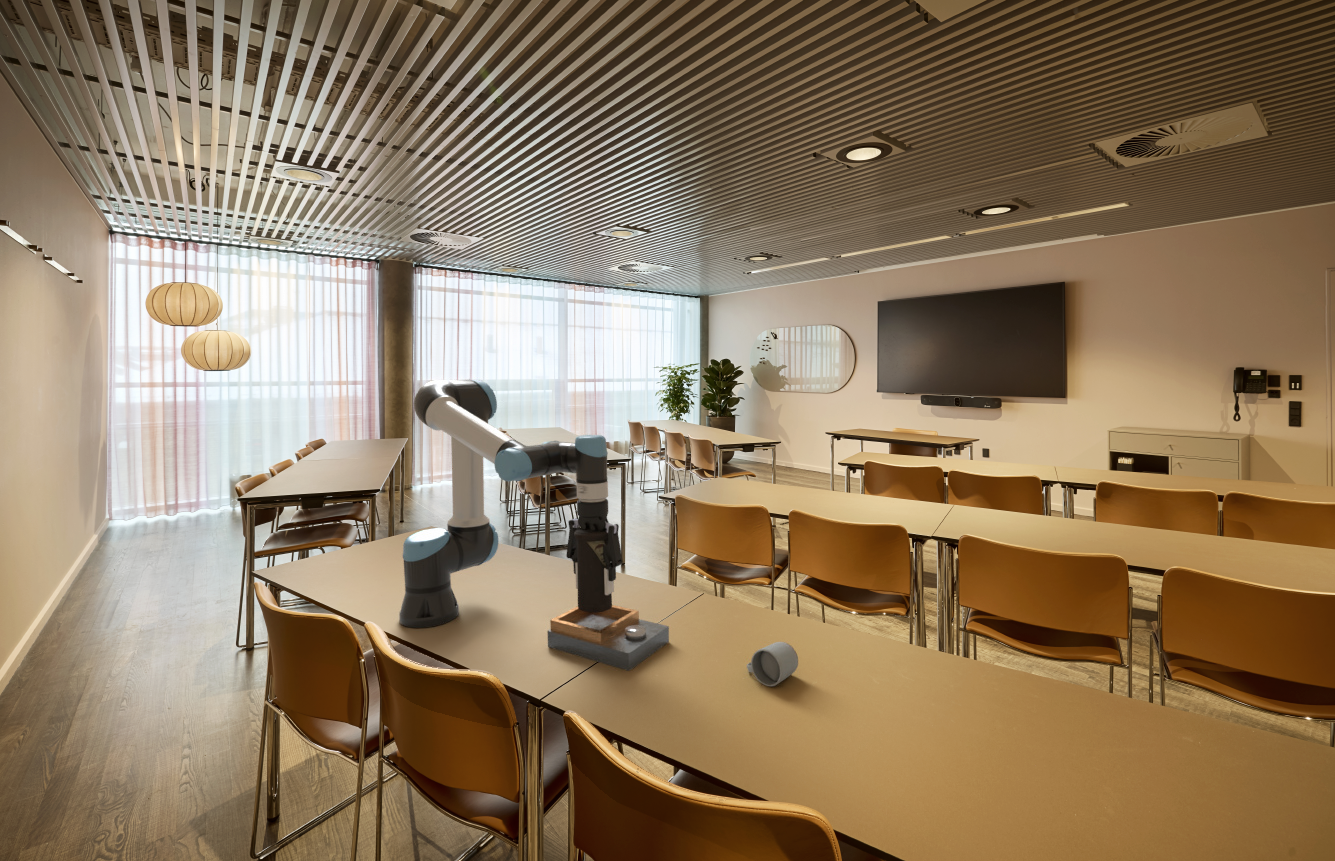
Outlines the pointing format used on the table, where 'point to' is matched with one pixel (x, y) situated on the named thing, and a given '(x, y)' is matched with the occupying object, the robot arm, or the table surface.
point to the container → (591, 571)
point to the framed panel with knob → (607, 636)
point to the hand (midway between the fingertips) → (594, 589)
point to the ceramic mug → (773, 663)
